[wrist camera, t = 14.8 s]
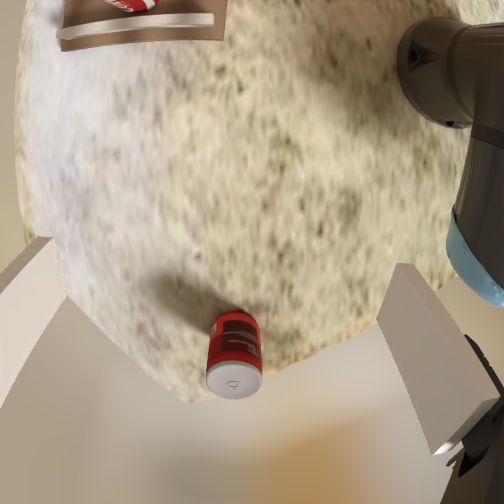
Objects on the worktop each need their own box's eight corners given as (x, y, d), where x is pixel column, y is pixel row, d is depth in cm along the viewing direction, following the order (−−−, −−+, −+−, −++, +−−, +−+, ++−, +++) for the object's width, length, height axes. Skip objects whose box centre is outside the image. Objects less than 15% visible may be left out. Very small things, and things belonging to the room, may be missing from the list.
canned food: (222, 350, 53) (218, 403, 43) (203, 316, 49) (195, 370, 40) (266, 340, 52) (269, 393, 42) (250, 304, 48) (252, 358, 39)
